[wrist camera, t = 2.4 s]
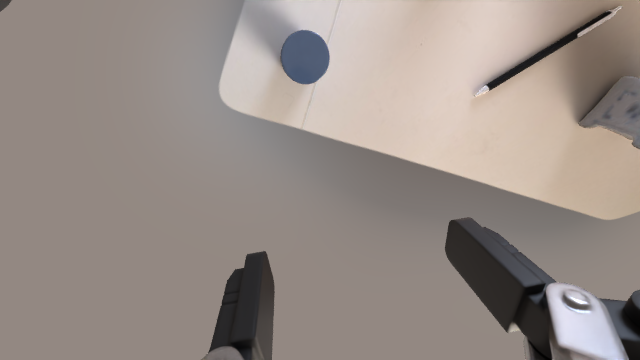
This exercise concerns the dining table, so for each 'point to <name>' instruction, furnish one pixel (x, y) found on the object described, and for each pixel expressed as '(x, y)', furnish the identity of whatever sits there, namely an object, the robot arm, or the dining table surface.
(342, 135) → the dining table surface
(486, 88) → the pen
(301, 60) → the cylinder
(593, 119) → the incense holder
